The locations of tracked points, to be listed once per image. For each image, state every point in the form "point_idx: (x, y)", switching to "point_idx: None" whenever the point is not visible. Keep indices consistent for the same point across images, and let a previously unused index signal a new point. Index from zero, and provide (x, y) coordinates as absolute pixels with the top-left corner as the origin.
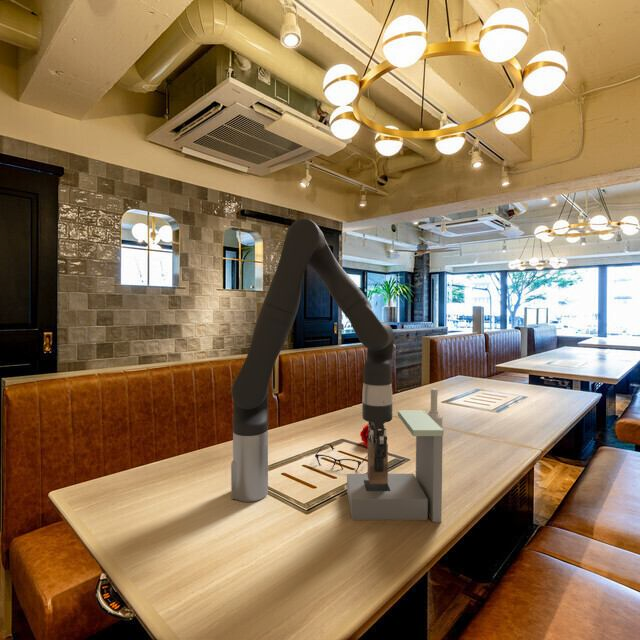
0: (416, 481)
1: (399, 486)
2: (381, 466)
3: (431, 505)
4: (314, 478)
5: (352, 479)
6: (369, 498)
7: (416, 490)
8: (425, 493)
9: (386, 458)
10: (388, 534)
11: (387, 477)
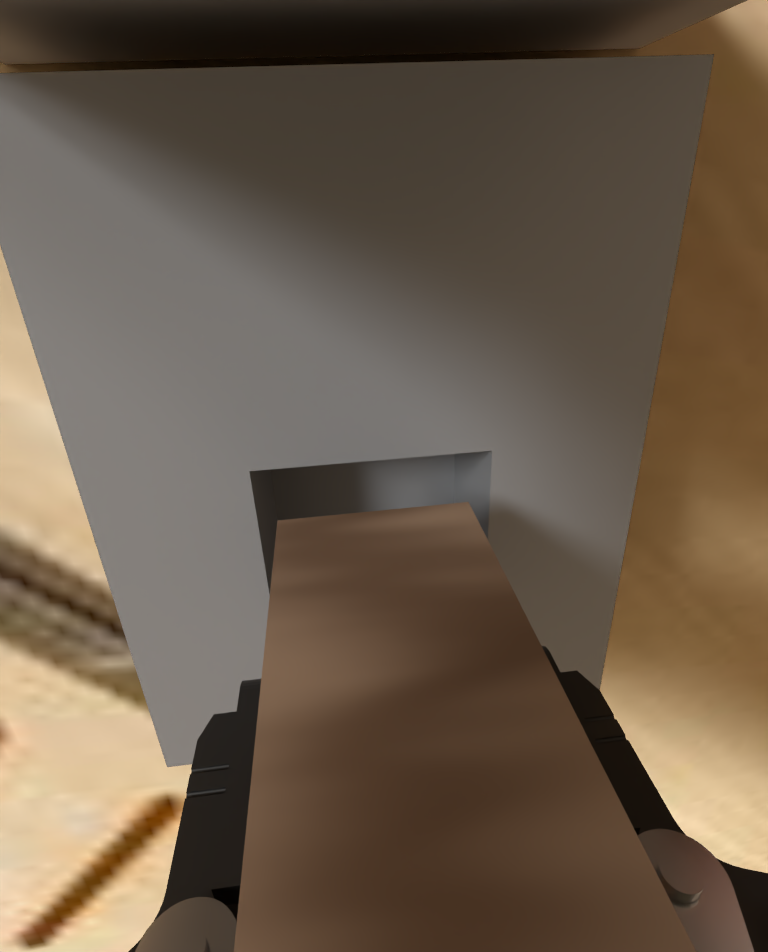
0: (231, 86)
1: (391, 350)
2: (616, 728)
3: (664, 14)
4: (44, 820)
5: None
6: (602, 615)
7: (491, 155)
8: (428, 13)
9: (588, 757)
10: (715, 430)
11: (488, 542)
